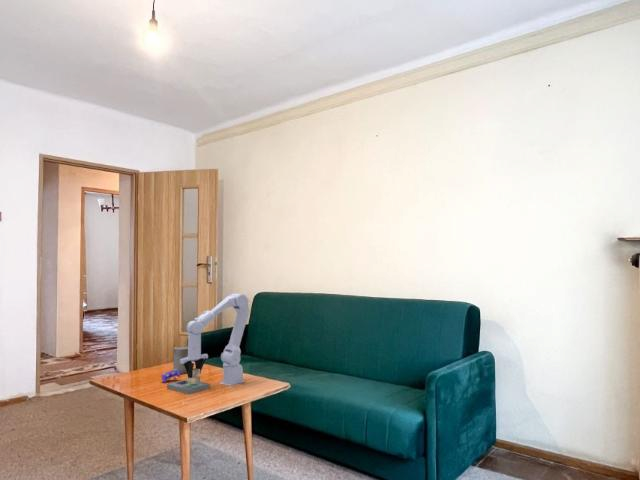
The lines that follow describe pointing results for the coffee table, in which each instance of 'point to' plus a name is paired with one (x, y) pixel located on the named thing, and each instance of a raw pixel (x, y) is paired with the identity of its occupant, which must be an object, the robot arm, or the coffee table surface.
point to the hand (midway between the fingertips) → (194, 376)
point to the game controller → (170, 375)
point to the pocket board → (188, 386)
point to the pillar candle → (179, 354)
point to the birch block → (194, 376)
